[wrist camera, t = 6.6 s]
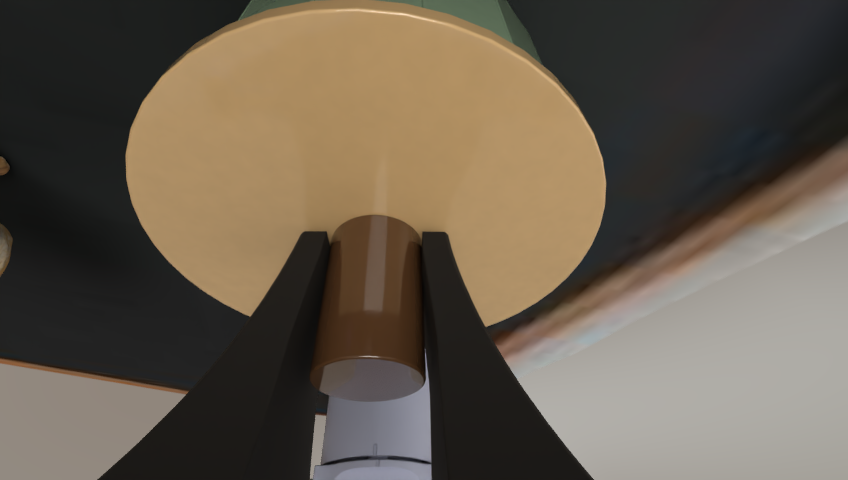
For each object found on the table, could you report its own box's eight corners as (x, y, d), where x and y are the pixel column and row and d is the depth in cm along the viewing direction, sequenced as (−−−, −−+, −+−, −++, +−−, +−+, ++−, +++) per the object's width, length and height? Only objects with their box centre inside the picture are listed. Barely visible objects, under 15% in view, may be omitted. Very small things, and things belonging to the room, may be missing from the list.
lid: (533, 319, 17) (562, 449, 14) (235, 321, 17) (193, 456, 14) (688, -6, 8) (889, 162, 5) (12, -24, 7) (-311, 150, 4)
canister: (504, 213, 21) (527, 324, 17) (275, 211, 20) (241, 326, 16) (575, -59, 12) (661, 34, 8) (176, -72, 12) (48, 20, 8)
